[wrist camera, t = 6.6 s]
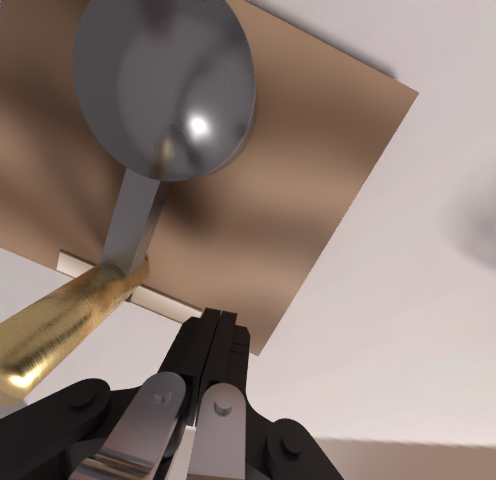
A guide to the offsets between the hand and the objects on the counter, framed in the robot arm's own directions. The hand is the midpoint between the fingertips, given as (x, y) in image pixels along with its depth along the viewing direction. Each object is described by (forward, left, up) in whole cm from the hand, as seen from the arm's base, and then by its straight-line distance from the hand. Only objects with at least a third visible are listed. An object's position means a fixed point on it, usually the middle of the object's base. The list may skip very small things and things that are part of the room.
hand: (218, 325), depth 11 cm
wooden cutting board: (-4, -6, -6) cm, 9 cm away
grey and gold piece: (-4, -6, -4) cm, 8 cm away
